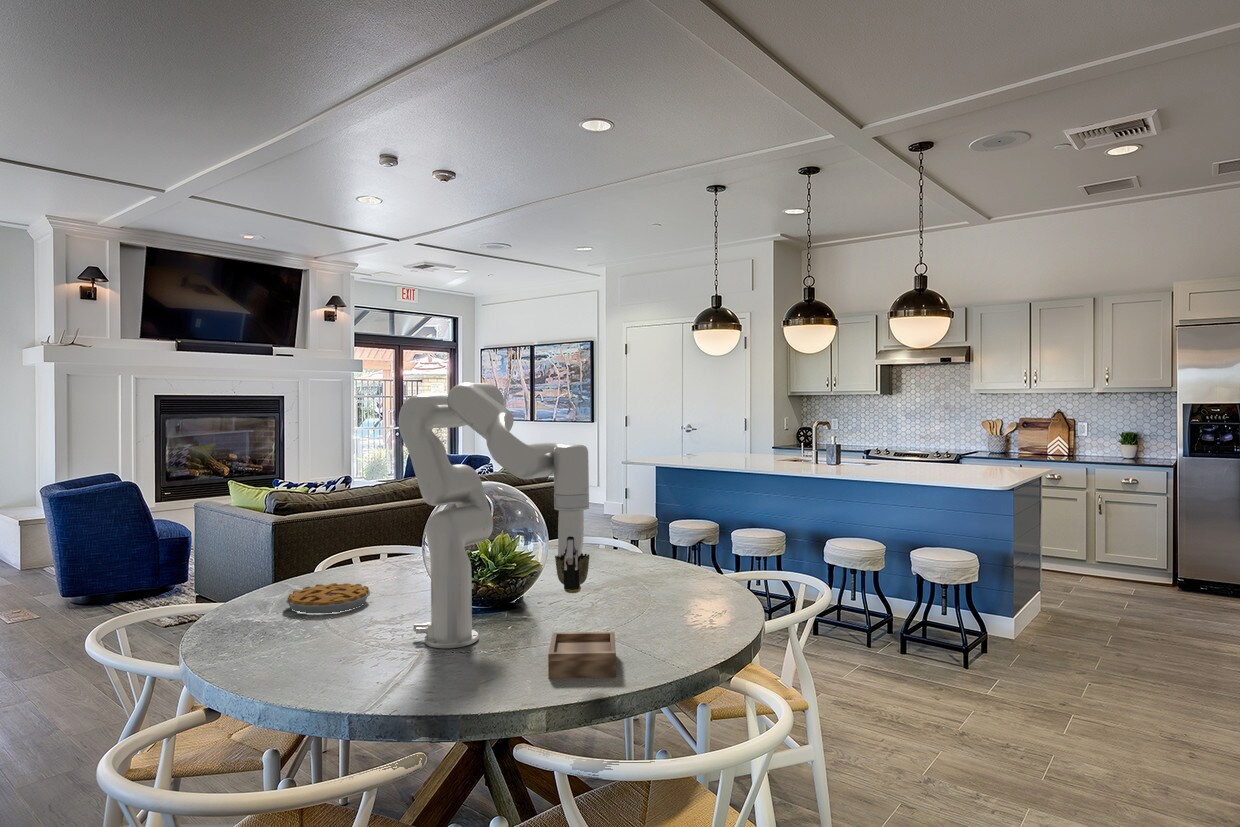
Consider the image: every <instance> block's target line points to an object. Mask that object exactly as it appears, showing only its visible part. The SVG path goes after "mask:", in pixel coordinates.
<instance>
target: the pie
mask: <svg viewBox="0 0 1240 827" xmlns="http://www.w3.org/2000/svg"><path fill="white" fill-rule="evenodd" d="M370 595H371V590H370V589H369V587H368V586H366V585H364V586H362V583H361V584H360V583H356V584H351V583H345V582H344V583H340V584H339V583H337V582H336V583H335V582H334V583H330V584H315V586H305V587H303V588H302V589H301V590H300V589H299V590H293V592H292V593H289V594H288V596H287V598H286V601H285V602H286V603H287V604H288V606H289V607H290V610H291V609H293V610H295V611H300V612H306V613H332V612H340V611H345V610H349V609H353V608H356V607H359V606H361V605H362V604H364V605H365V604H366V601H367V599H368V597H369V596H370ZM362 606H363V605H362ZM362 606H361V607H362ZM359 608H360V607H359Z"/></svg>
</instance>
